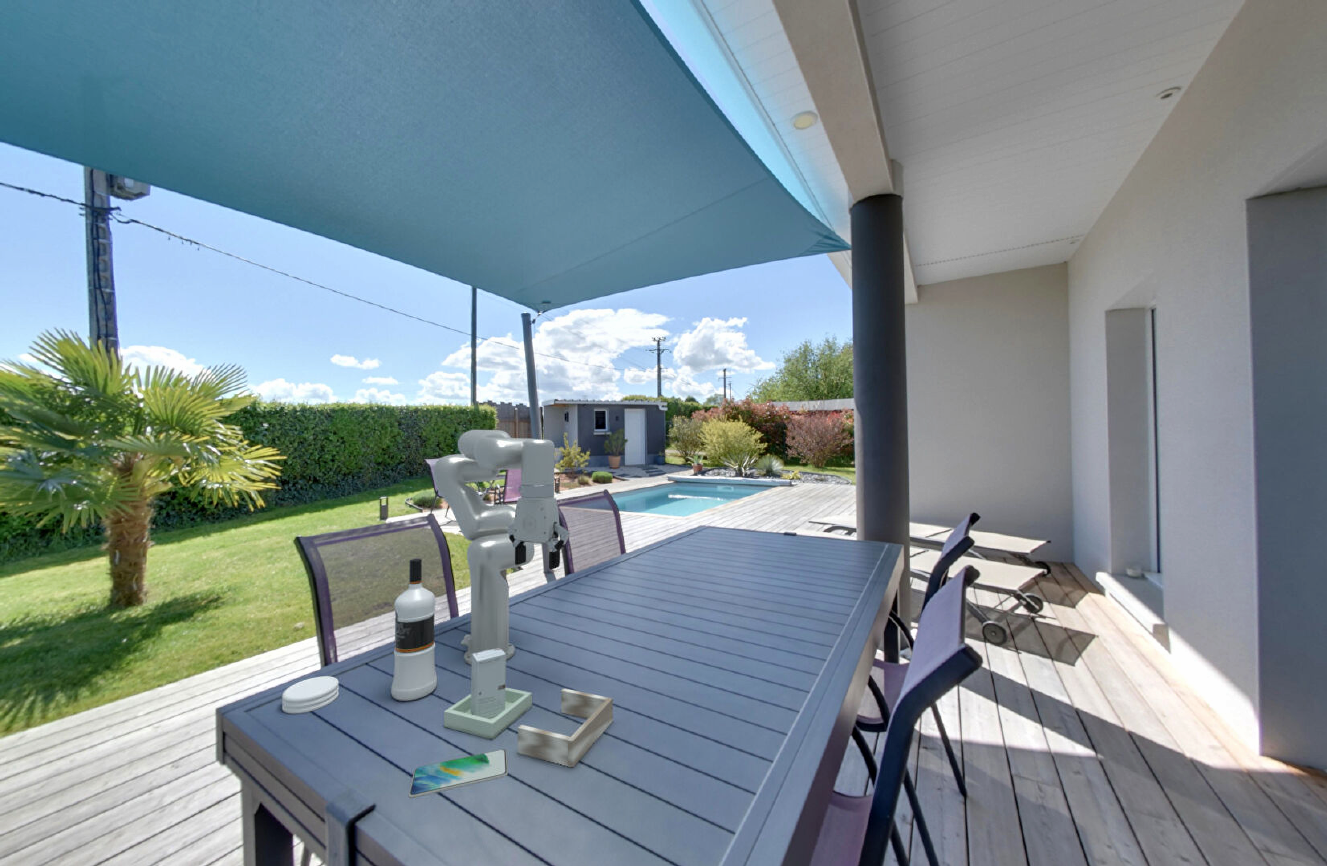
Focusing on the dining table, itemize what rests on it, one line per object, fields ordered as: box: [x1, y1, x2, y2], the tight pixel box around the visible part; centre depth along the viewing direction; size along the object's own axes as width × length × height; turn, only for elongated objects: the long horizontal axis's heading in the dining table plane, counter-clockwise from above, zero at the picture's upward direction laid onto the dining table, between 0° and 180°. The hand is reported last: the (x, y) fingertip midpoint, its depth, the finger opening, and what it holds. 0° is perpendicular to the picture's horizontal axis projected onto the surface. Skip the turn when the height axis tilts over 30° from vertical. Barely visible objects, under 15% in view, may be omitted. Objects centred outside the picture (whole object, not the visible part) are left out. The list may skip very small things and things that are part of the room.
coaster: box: [281, 675, 340, 715], centre depth 105 cm, size 10×10×4 cm
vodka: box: [390, 557, 438, 702], centre depth 109 cm, size 9×9×30 cm
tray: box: [443, 686, 533, 741], centre depth 99 cm, size 12×12×3 cm
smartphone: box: [408, 748, 509, 799], centre depth 82 cm, size 7×1×15 cm
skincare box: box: [470, 648, 507, 719], centre depth 99 cm, size 6×4×12 cm
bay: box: [517, 688, 614, 768], centre depth 92 cm, size 12×15×4 cm
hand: (537, 565), depth 112 cm, fingers open, 9 cm apart
